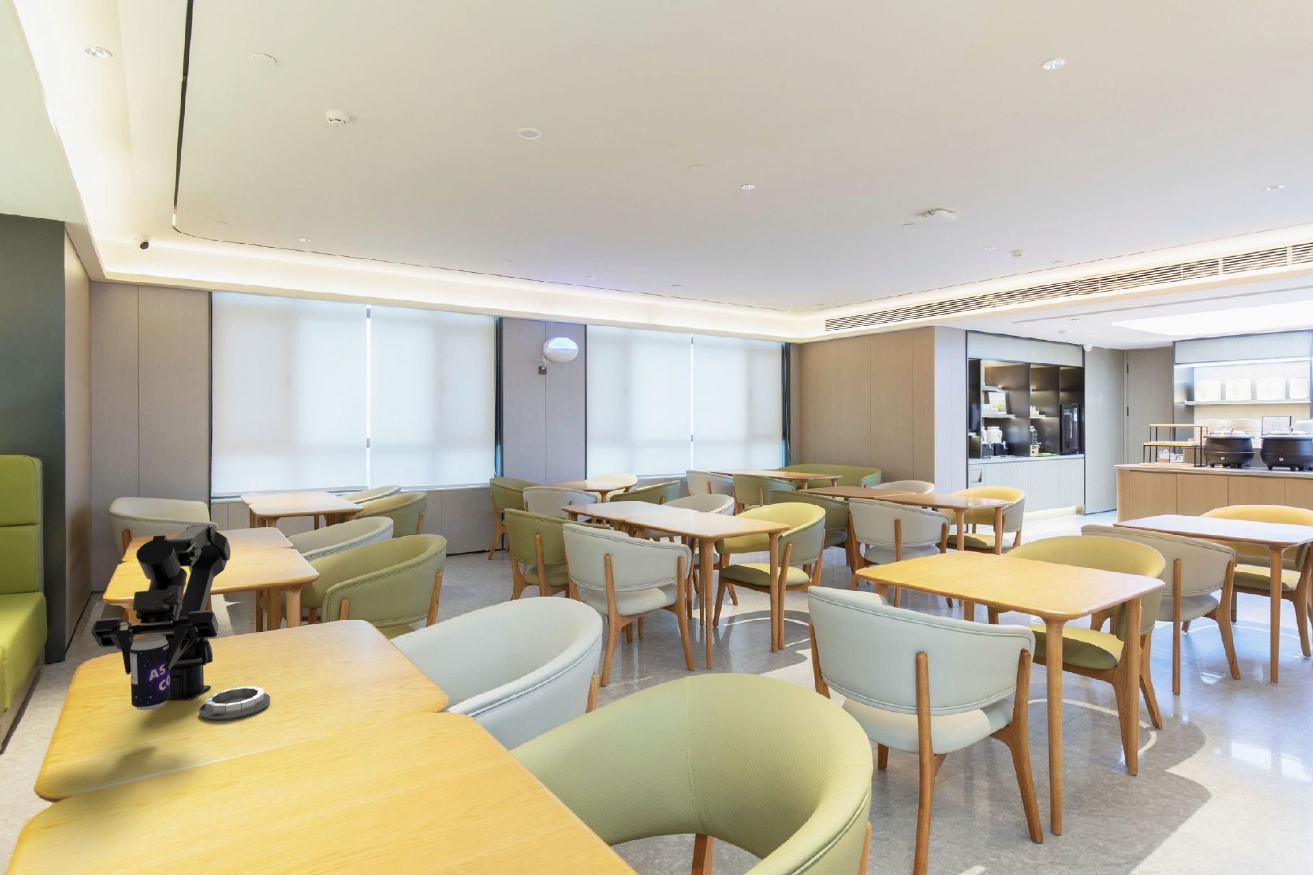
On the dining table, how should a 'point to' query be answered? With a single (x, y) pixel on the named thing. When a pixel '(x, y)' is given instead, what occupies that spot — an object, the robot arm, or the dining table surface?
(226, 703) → the collar base
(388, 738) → the dining table surface
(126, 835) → the dining table surface
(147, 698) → the beverage can
